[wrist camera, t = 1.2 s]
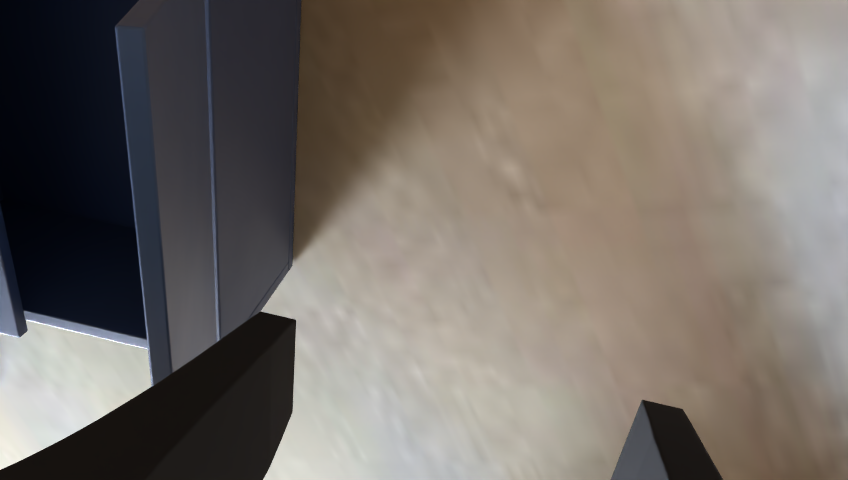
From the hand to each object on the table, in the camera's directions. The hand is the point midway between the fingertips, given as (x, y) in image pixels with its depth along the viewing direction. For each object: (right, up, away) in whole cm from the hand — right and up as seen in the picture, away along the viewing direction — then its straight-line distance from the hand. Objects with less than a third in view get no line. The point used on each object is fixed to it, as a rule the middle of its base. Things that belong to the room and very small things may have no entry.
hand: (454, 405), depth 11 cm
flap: (-5, +2, +2) cm, 6 cm away
